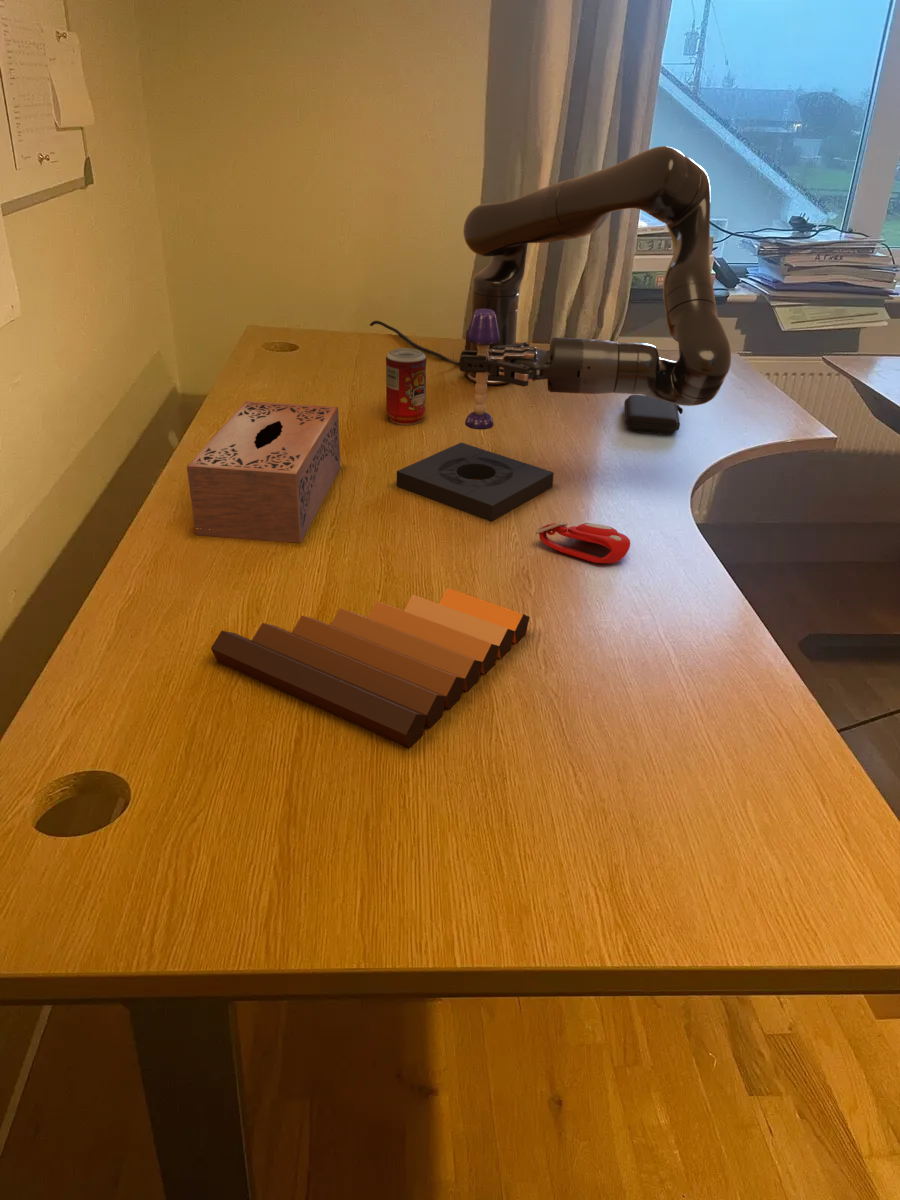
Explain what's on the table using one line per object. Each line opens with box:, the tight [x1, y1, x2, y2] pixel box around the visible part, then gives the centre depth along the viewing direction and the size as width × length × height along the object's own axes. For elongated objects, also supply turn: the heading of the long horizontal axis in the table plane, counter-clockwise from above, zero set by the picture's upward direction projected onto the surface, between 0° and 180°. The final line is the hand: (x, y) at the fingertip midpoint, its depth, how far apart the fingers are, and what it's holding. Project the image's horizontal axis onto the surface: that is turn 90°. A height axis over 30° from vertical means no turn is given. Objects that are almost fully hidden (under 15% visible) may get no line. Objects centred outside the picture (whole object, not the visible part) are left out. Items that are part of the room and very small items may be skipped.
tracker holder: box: [534, 521, 631, 564], centre depth 119 cm, size 12×4×10 cm
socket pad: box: [396, 441, 555, 522], centre depth 136 cm, size 18×16×2 cm
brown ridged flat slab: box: [210, 587, 531, 749], centre depth 98 cm, size 25×3×25 cm
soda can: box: [385, 347, 427, 426], centre depth 157 cm, size 7×7×12 cm
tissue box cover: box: [186, 400, 341, 544], centre depth 128 cm, size 26×14×10 cm, turn 174°
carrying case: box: [623, 394, 684, 435], centre depth 163 cm, size 11×3×15 cm
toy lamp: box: [464, 309, 500, 431], centre depth 127 cm, size 5×5×17 cm
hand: (460, 360), depth 127 cm, fingers closed on toy lamp
